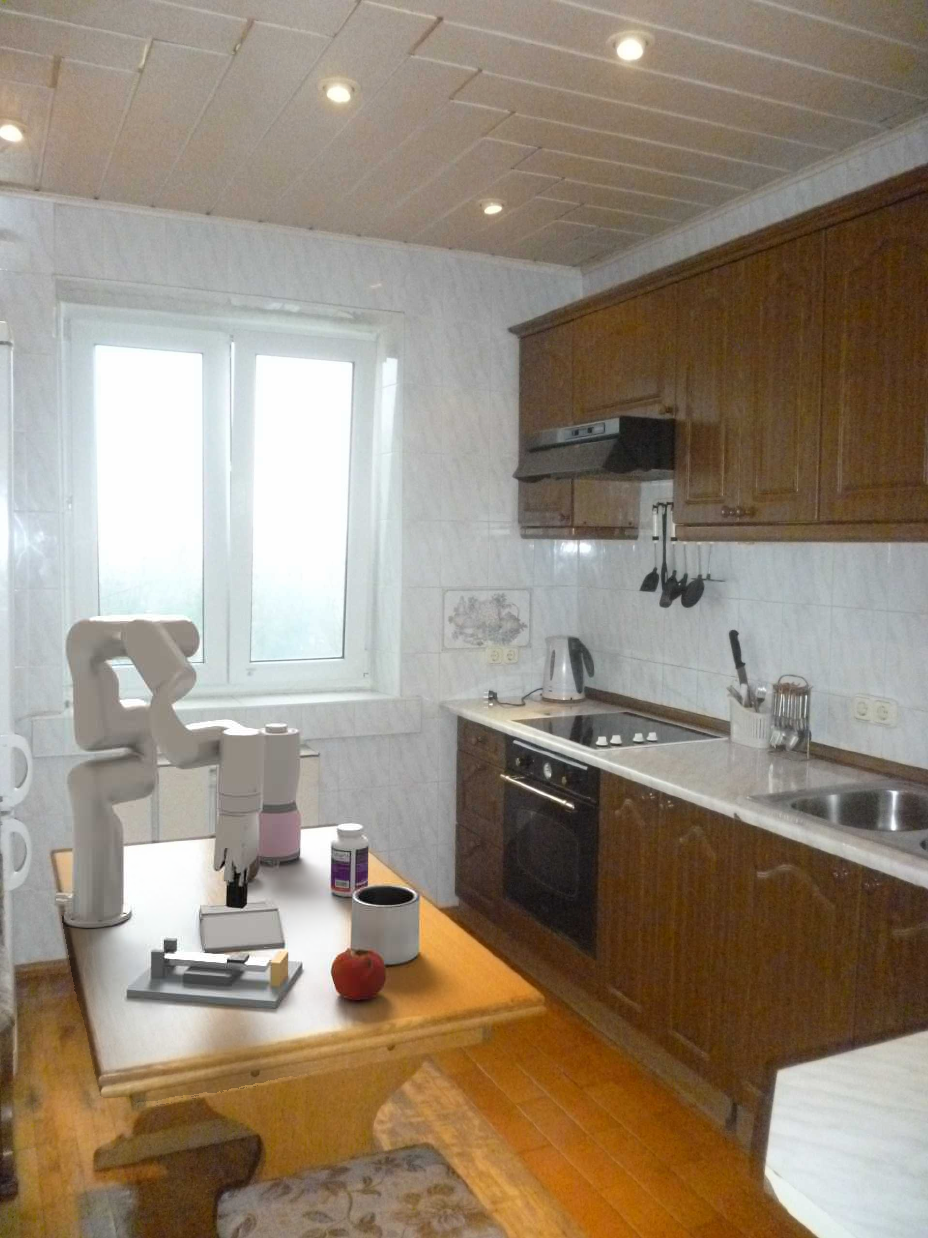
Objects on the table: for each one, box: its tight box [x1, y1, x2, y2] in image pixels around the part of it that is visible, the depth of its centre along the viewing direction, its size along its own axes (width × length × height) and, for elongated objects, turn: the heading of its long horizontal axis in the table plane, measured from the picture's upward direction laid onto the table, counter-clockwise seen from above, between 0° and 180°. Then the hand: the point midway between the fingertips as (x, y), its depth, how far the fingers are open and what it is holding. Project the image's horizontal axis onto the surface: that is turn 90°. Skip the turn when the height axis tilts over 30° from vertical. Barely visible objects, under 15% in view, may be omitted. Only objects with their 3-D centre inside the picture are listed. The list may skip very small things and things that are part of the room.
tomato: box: [330, 947, 387, 1001], centre depth 172 cm, size 9×9×8 cm
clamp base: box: [126, 937, 303, 1009], centre depth 176 cm, size 25×16×6 cm, turn 83°
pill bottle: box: [330, 822, 369, 898], centre depth 222 cm, size 8×8×14 cm
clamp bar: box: [165, 950, 272, 972], centre depth 176 cm, size 19×4×2 cm, turn 83°
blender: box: [256, 723, 302, 868], centre depth 245 cm, size 16×12×32 cm
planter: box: [349, 884, 421, 967], centre depth 189 cm, size 12×12×11 cm
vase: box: [247, 854, 261, 883], centre depth 229 cm, size 7×7×9 cm
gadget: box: [198, 900, 286, 954], centre depth 201 cm, size 23×15×4 cm, turn 16°
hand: (236, 906), depth 178 cm, fingers closed
